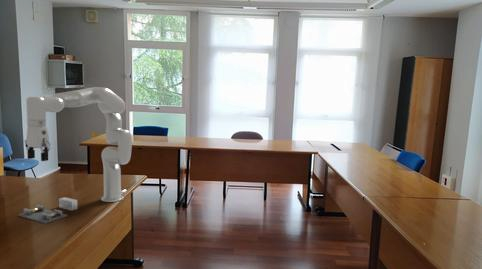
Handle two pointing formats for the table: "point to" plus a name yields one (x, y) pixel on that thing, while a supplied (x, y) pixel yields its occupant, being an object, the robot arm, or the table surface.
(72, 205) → the tall grey pillar block
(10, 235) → the table surface
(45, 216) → the twin roller tray
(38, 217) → the grey flat plate
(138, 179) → the table surface
